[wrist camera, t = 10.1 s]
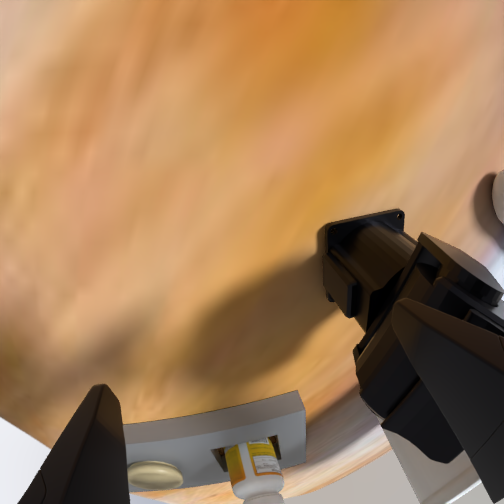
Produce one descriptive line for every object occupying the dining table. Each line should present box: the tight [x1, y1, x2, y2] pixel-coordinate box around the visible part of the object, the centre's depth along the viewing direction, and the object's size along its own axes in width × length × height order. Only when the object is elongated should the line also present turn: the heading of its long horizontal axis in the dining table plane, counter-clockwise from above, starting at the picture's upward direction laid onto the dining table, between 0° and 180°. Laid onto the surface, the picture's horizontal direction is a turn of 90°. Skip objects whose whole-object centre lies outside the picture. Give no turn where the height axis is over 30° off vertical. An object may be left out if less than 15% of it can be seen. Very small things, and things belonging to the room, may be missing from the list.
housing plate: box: [123, 390, 306, 492], centre depth 29 cm, size 24×14×4 cm, turn 99°
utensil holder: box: [376, 416, 482, 504], centre depth 26 cm, size 15×15×18 cm
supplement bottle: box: [223, 437, 284, 504], centre depth 28 cm, size 5×5×10 cm
